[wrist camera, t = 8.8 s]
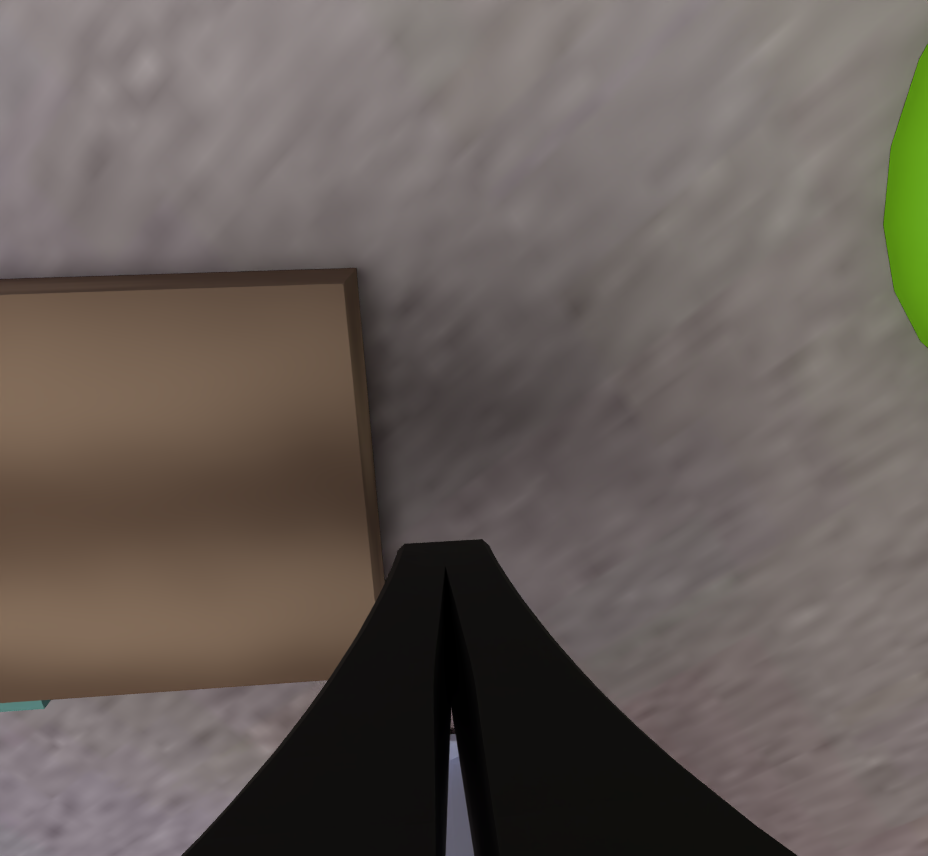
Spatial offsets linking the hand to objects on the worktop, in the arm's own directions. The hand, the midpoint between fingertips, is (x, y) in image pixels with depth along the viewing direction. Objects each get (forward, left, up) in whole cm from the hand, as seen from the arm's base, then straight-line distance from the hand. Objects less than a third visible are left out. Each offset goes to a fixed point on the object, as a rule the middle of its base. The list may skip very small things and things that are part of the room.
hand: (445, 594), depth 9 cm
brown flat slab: (-2, +8, -9) cm, 13 cm away
